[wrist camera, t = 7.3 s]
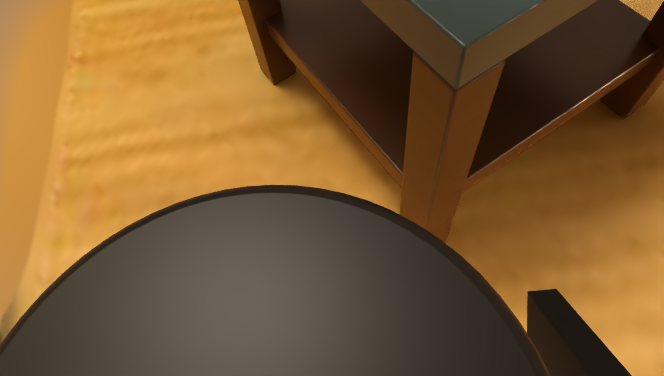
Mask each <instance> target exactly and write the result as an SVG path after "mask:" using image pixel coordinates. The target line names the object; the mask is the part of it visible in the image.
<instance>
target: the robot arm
mask: <svg viewBox="0 0 664 376" xmlns="http://www.w3.org/2000/svg"><path fill="white" fill-rule="evenodd" d="M527 334H528V336H529V338H530V339H531V341H532V342H533V344H534V346H535V347H536V349H537V350H538V352H539V354H540V356H541V358H542V360H543V362H544V364H545V366H546V368H547V370H548V372H549V374H550V376H631V374H630V373H629V372H628V371H627V370H626V369H625V367H624V366H623V365H622V364H621V363H620V362H619V361H618V359H617V358H616V357H615V356H614V355H613V354H612V353H611V351H610V350H609V349H608V348H607V347H606V346H605V344H604V343H603V342H602V341H601V340H600V339H599V338H598V336H597V335H596V334H595V333H594V332H593V331H592V330H591V328H590V327H589V326H588V325H587V324H586V323H585V321H584V320H583V319H582V318H581V317H580V316H579V315H578V313H577V312H576V311H575V310H574V309H573V308H572V307H571V305H570V304H569V303H568V302H567V301H566V300H565V298H564V297H563V296H562V295H561V294H560V293H559V292H558V290H557V289H550V290H539V291H528V297H527Z"/></svg>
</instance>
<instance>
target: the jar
mask: <svg viewBox="0 0 664 376" xmlns="http://www.w3.org/2000/svg"><path fill="white" fill-rule="evenodd" d="M0 376H550V374H549V372H548V370H547V368H546V366H545V364H544V362H543V360H542V358H541V356H540V354H539V352H538V350H537V349H536V347H535V346H534V344H533V342H532V341H531V339H530V338H529V336H528V334H527V333H526V331H525V330H524V328H523V326H522V325H521V323H520V322H519V320H518V319H517V318H516V316H515V315H514V314H513V312H512V311H511V310H510V308H509V307H508V306H507V304H506V303H505V302H504V300H503V299H502V298H501V296H500V295H499V294H498V293H497V292H496V291H495V290H494V289H493V288H492V286H491V285H490V284H489V283H488V282H487V281H486V280H485V279H484V278H483V276H482V275H481V274H480V273H479V272H478V271H477V270H476V269H474V268H473V267H472V266H471V265H470V264H469V263H468V262H467V261H466V260H465V259H464V258H463V257H462V256H460V255H459V254H458V253H457V252H456V251H454V250H453V249H452V248H451V247H449V246H448V245H447V244H445V243H444V242H443V241H442V240H440V239H439V238H438V237H436V236H435V235H433V234H432V233H430V232H428V231H427V230H425V229H424V228H422V227H421V226H419V225H418V224H416V223H414V222H413V221H411V220H409V219H407V218H405V217H403V216H401V215H399V214H397V213H395V212H393V211H391V210H389V209H387V208H384V207H382V206H379V205H377V204H374V203H372V202H370V201H367V200H364V199H361V198H357V197H354V196H351V195H347V194H344V193H340V192H335V191H330V190H325V189H321V188H313V187H304V186H295V185H262V186H247V187H240V188H233V189H227V190H221V191H217V192H213V193H209V194H204V195H200V196H197V197H194V198H191V199H188V200H185V201H182V202H179V203H176V204H173V205H171V206H169V207H166V208H164V209H161V210H159V211H157V212H154V213H152V214H150V215H148V216H146V217H144V218H142V219H140V220H138V221H136V222H134V223H133V224H131V225H129V226H127V227H125V228H124V229H122V230H121V231H119V232H117V233H116V234H114V235H112V236H111V237H109V238H108V239H106V240H105V241H103V242H102V243H100V244H99V245H98V246H96V247H95V248H94V249H92V250H91V251H89V252H88V253H87V254H85V255H84V256H83V257H82V258H80V259H79V260H78V261H77V262H76V263H75V264H73V265H72V266H71V267H70V268H69V269H67V270H66V271H65V272H64V273H63V274H62V275H61V276H60V277H59V278H58V279H57V280H56V281H55V282H54V283H52V284H51V285H50V286H49V287H48V288H47V289H46V290H45V291H44V292H43V293H42V294H41V295H40V297H39V298H38V299H37V300H36V301H35V302H34V303H33V304H32V306H31V307H30V308H29V309H28V310H27V311H26V312H25V313H24V315H23V316H22V317H21V318H20V319H19V321H18V322H17V323H16V325H15V326H14V327H13V329H12V330H11V331H10V333H9V334H8V335H7V336H6V338H5V339H4V340H3V342H2V343H1V345H0Z"/></svg>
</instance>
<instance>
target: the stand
mask: <svg viewBox="0 0 664 376" xmlns="http://www.w3.org/2000/svg"><path fill="white" fill-rule="evenodd" d="M238 1H239V4H240V7H241V10H242V13H243V16H244V19H245V22H246V25H247V28H248V32H249V35H250V38H251V41H252V44H253V47H254V50H255V53H256V56H257V59H258V62H259V65H260V68H261V70H262V71H263V72H264V73H265V74H266V76H267V77H268V78H269V79H270V81H271V82H272V83H273V84H276V83H278V82H280V81H281V80H283V79H285V78H287V77H288V76H290V75H292V74H294V73H295V72H297V71H296V67H297V68H298V69H299V70H300V71H301V72H302V73H303V75H304V76H305V77H306V78H307V79H308V80H309V82H310V83H311V84H312V85H313V86H314V87H315V89H316V90H317V91H318V92H319V93H320V94H321V95H322V97H323V98H324V99H325V100H326V101H327V102H328V104H329V105H330V106H331V107H332V108H333V109H334V110H335V112H336V113H337V114H338V115H339V116H340V117H341V119H342V120H343V121H344V122H345V123H346V124H347V126H348V127H349V128H350V129H351V130H352V131H353V132H354V134H355V135H356V136H357V137H358V138H359V139H360V141H361V142H362V143H363V144H364V145H365V146H366V147H367V149H368V150H369V151H370V152H371V153H372V154H373V156H374V157H375V158H376V159H377V160H378V161H379V163H380V164H381V165H382V166H383V167H384V168H385V169H386V171H387V172H388V173H389V174H390V175H391V176H392V178H393V179H394V180H395V181H396V182H397V183H398V184H399V186H400V187H401V188H402V193H401V205H400V215H401V216H403V217H405V218H407V219H409V220H411V221H413V222H414V223H416V224H418V225H419V226H421V227H422V228H424V229H425V230H427V231H428V232H430V233H432V234H433V235H435V236H436V237H438V238H439V239H440V240H442V241H443V242H444V243H445V242H446V239H447V236H448V233H449V230H450V227H451V224H452V221H453V218H454V215H455V212H456V209H457V206H458V203H459V200H460V197H461V194H462V192H464V191H465V190H467V189H468V188H470V187H471V186H473V185H474V184H476V183H477V182H478V181H480V180H481V179H483V178H484V177H486V176H487V175H489V174H490V173H492V172H493V171H495V170H496V169H498V168H499V167H500V166H502V165H503V164H505V163H506V162H508V161H509V160H511V159H512V158H514V157H515V156H517V155H518V154H519V153H521V152H522V151H524V150H525V149H527V148H528V147H530V146H531V145H533V144H534V143H536V142H537V141H539V140H540V139H541V138H543V137H544V136H546V135H547V134H549V133H550V132H552V131H553V130H555V129H556V128H558V127H559V126H560V125H562V124H563V123H565V122H566V121H568V120H569V119H571V118H572V117H574V116H575V115H577V114H578V113H580V112H581V111H582V110H584V109H585V108H587V107H588V106H590V105H591V104H593V103H594V102H596V101H597V100H599V99H600V100H601V101H602V102H604V103H605V104H606V105H607V106H609V107H610V108H611V109H612V110H614V111H615V112H616V113H617V114H619V115H620V116H621V117H622V118H625V117H627V116H628V115H630V114H631V113H633V112H634V111H636V110H637V109H638V108H640V107H641V106H643V105H644V104H645V103H646V102H647V101H648V99H649V98H650V97H651V96H652V94H653V93H654V92H655V91H656V89H657V88H658V87H659V86H660V84H661V83H662V82H663V81H664V1H663V3H662V5H661V6H660V8H659V9H658V11H657V12H656V14H655V15H654V17H653V18H652V20H651V21H649V20H648V19H646V18H645V17H643V16H642V15H640V14H639V13H637V12H636V11H634V10H633V9H631V8H630V7H628V6H627V5H625V4H624V3H622V2H621V1H619V0H238ZM295 65H296V67H295Z"/></svg>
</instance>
